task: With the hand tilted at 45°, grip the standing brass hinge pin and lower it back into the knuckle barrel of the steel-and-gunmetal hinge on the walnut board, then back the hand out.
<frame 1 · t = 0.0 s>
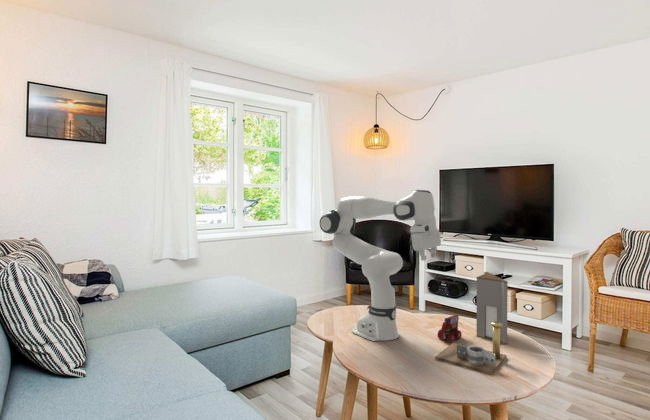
hand: (428, 258, 170), 39 cm above the table, tool pointing down, fingers open, 8 cm apart
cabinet: (486, 336, 184), on the table
walnut board: (470, 358, 159), on the table
hinge: (475, 361, 153), resting on walnut board
hinge pin: (496, 357, 157), point 1 cm above the table, touching walnut board
toy fire truck: (449, 339, 181), on the table
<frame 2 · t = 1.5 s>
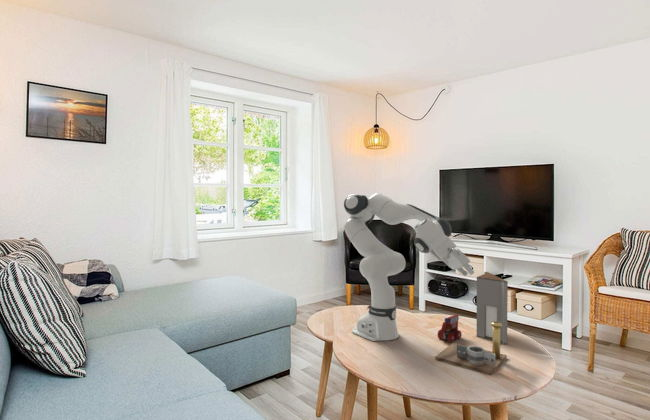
hand: (469, 274, 166), 33 cm above the table, tool tilted 45°, fingers open, 8 cm apart
nothing on the table moved.
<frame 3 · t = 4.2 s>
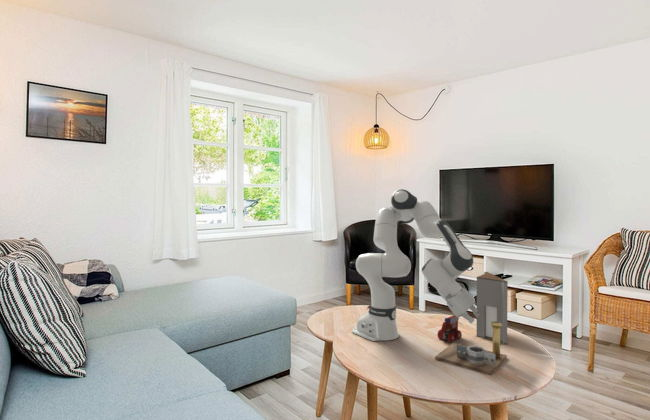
hand: (475, 318, 162), 15 cm above the table, tool tilted 45°, fingers open, 8 cm apart
nothing on the table moved.
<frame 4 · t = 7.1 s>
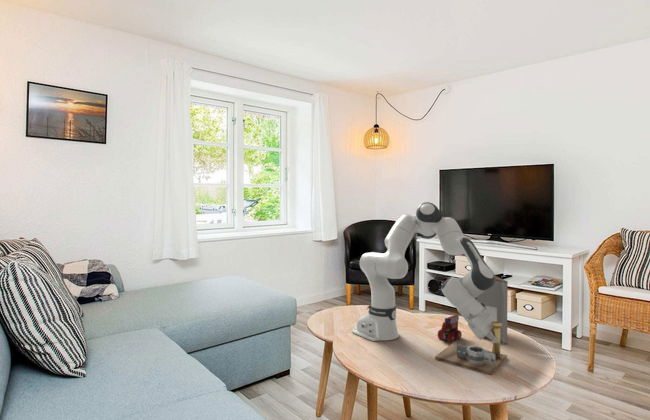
hand: (498, 340, 156), 8 cm above the table, tool tilted 45°, fingers closed on hinge pin, 3 cm apart
hinge pin: (496, 357, 157), point 1 cm above the table, touching gripper, walnut board
everything else where it was.
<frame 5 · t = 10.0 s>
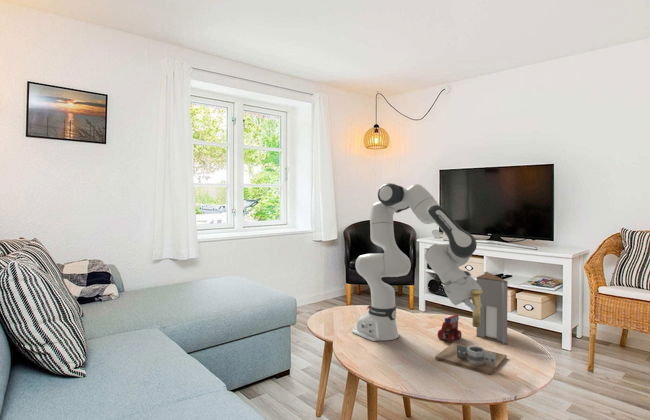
hand: (477, 308, 152), 22 cm above the table, tool tilted 45°, fingers closed on hinge pin, 3 cm apart
hinge pin: (476, 326, 153), point 15 cm above the table, touching gripper
everything else where it was.
when the fingers open (9 cm above the table, at t = 13.0 s): hinge pin drops 1 cm, resting on walnut board.
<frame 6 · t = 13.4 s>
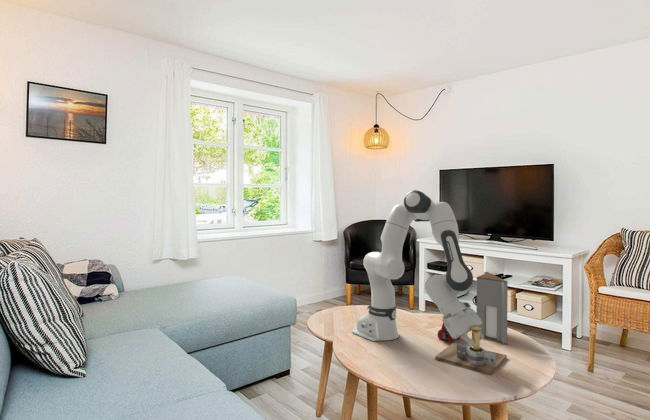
hand: (477, 341, 153), 9 cm above the table, tool tilted 45°, fingers open, 6 cm apart
hinge pin: (475, 361, 153), point 1 cm above the table, touching walnut board
everything else where it was.
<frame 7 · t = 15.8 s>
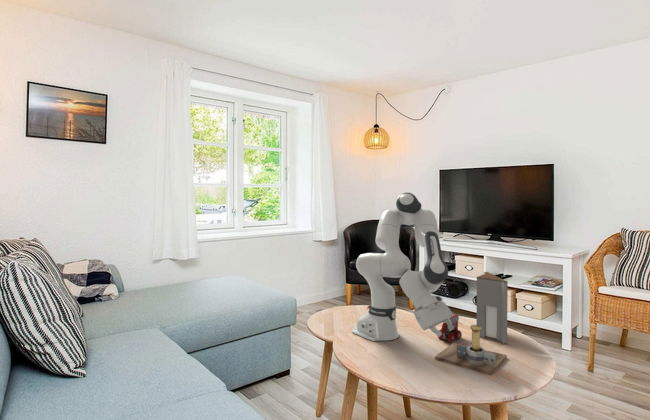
hand: (446, 332, 162), 10 cm above the table, tool tilted 45°, fingers open, 8 cm apart
nothing on the table moved.
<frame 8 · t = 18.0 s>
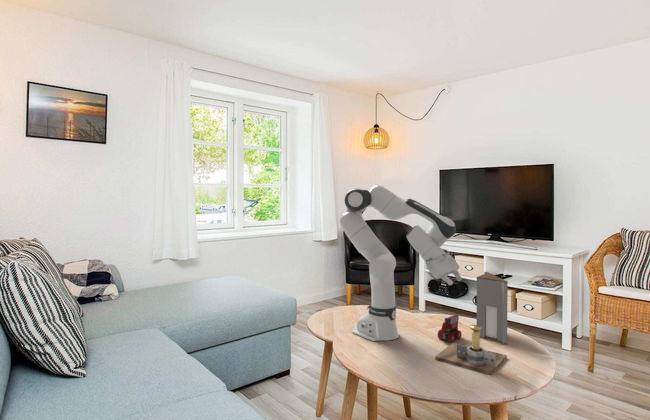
hand: (456, 282, 166), 29 cm above the table, tool tilted 45°, fingers open, 8 cm apart
nothing on the table moved.
at the end: hinge pin 0.1 cm off-centre on the hinge, point 0.0 cm above the hinge's base; hinge pin tilted 0°; the gripper is holding nothing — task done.
